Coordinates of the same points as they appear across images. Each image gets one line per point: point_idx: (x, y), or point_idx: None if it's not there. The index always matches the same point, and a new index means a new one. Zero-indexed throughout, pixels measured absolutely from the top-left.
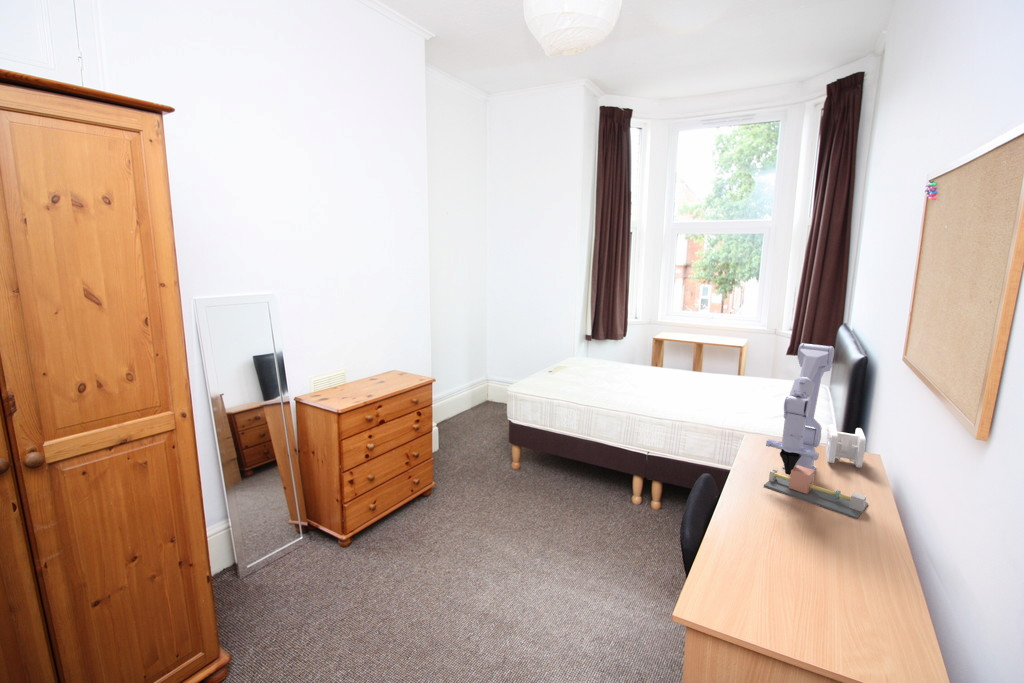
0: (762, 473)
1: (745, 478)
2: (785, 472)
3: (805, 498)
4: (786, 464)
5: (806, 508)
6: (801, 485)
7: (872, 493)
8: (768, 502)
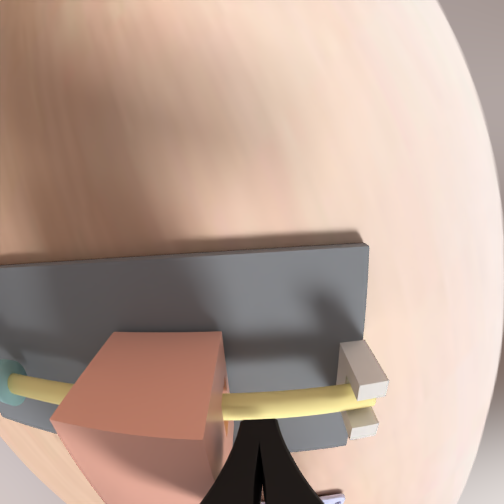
0: (410, 398)
1: (470, 260)
2: (275, 424)
3: (93, 271)
4: (276, 486)
5: (55, 166)
6: (131, 358)
7: (60, 484)
8: (235, 28)
